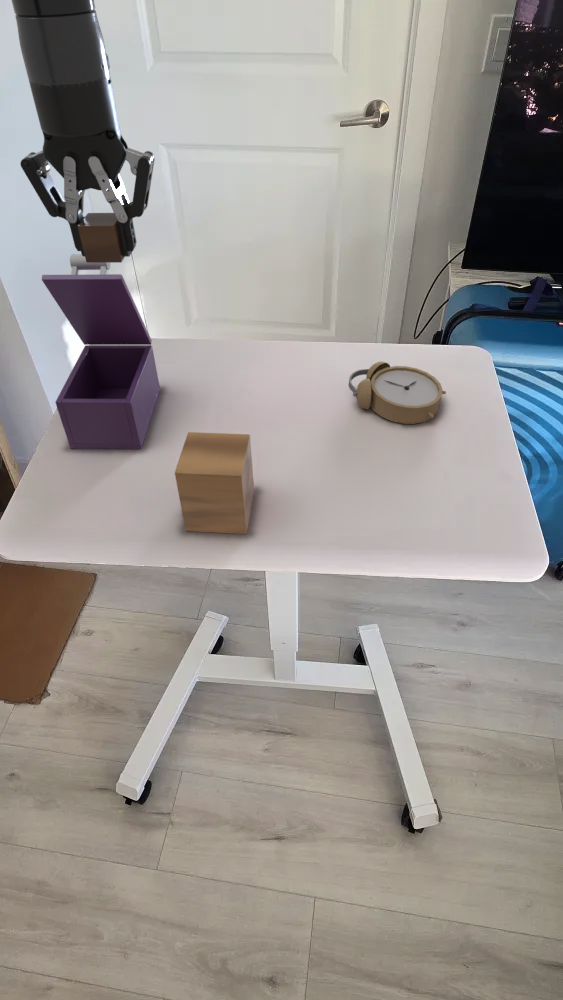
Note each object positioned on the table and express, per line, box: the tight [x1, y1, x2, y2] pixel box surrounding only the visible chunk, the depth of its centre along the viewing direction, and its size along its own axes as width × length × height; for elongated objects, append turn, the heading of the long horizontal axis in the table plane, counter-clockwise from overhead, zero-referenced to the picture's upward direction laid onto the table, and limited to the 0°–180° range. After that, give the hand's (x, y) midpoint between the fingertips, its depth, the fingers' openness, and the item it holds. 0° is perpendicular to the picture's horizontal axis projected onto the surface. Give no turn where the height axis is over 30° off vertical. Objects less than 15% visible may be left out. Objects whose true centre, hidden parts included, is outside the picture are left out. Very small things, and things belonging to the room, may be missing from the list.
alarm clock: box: [348, 361, 447, 425], centre depth 99 cm, size 11×5×15 cm
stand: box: [174, 431, 255, 535], centre depth 80 cm, size 8×8×10 cm
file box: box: [54, 344, 161, 450], centre depth 96 cm, size 16×11×8 cm
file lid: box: [41, 254, 152, 346], centre depth 92 cm, size 17×11×5 cm
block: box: [78, 212, 125, 264], centre depth 69 cm, size 4×4×4 cm
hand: (108, 253), depth 71 cm, fingers closed on block, 4 cm apart
